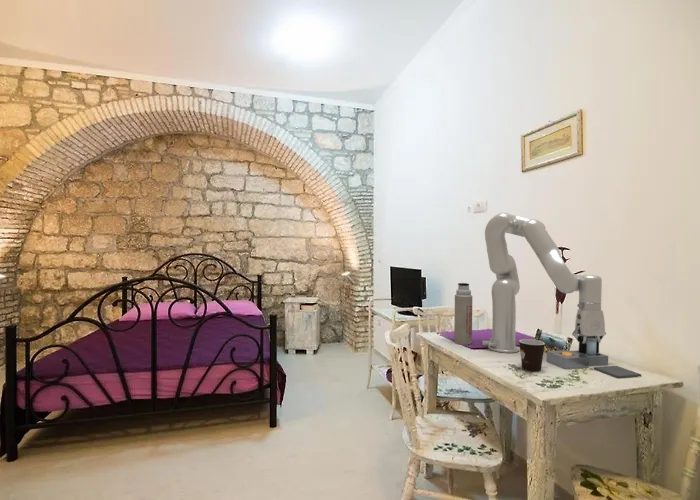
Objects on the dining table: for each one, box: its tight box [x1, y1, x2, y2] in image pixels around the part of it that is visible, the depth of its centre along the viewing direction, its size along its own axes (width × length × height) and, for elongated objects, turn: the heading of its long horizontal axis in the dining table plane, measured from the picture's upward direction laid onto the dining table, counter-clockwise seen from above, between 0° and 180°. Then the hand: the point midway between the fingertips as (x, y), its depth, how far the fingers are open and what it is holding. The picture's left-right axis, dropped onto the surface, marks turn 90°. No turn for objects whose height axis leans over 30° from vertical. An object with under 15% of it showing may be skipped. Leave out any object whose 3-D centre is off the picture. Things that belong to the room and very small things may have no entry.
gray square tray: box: [572, 349, 609, 367], centre depth 153 cm, size 9×9×4 cm
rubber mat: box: [593, 365, 642, 379], centre depth 140 cm, size 10×10×1 cm
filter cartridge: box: [582, 336, 597, 356], centre depth 153 cm, size 5×5×10 cm
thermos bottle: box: [453, 282, 473, 346], centre depth 182 cm, size 8×8×28 cm
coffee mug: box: [518, 338, 545, 373], centre depth 145 cm, size 12×9×10 cm
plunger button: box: [562, 352, 572, 356], centre depth 150 cm, size 4×4×4 cm
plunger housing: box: [546, 349, 589, 370], centre depth 150 cm, size 10×10×4 cm
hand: (588, 351), depth 153 cm, fingers closed on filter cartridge, 5 cm apart
